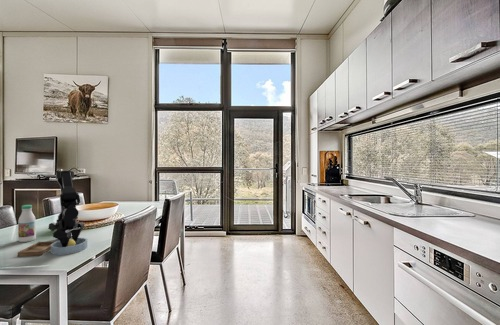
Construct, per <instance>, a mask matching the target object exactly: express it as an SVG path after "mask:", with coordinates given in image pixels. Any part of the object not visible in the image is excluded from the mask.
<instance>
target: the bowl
mask: <svg viewBox="0 0 500 325" xmlns="http://www.w3.org/2000/svg"><path fill="white" fill-rule="evenodd" d="M70 239H72V238H70ZM56 241H57V242H54V243H52V244H51V250H50V254H53V255H56V256H57V255H71V254H75V253H79V252H82V251H84V250H86V249H87V248H88V239H87V238H86V237H78V239H77V241H76V244H75V245H74V246H68V247H62V244H61V242H60V240H56Z"/></svg>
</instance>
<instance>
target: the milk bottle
mask: <svg viewBox="0 0 500 325" xmlns="http://www.w3.org/2000/svg"><path fill="white" fill-rule="evenodd" d="M32 209H33V205H32V204H23V205H21V213H20V215H19V218H18V221H17V222H18V224H17V226H18V227H17V228H18V229H17V230H18V232H17V233H18V234H17V237H18V242H19V243H26V242H33V241H35V240H36V239H37V222H36V221H37V220H36V216H35V214H34V213H33V210H32Z"/></svg>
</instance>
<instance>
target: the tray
mask: <svg viewBox="0 0 500 325" xmlns="http://www.w3.org/2000/svg"><path fill="white" fill-rule="evenodd" d="M57 241H58V240H51V241H38V242H35V243H34V244H32V245H29V246H28V247H25V248H24V249H21V250H20V251H18V252H17V253H16V255H17V257H19V258H21V257H39V256H43V255H45V254H47V253H48V252H50V251H51V244H52V243H54V242H57Z"/></svg>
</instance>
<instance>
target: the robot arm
mask: <svg viewBox="0 0 500 325" xmlns="http://www.w3.org/2000/svg"><path fill="white" fill-rule="evenodd" d="M74 178H75V171H72V170H70V169H69V170H58V171H56V172H55V179H56V181H57V182H56V183H58V185H59V186H60V193H59V203H60V204H59V205H60V212H59V214H58V215H57V219H56V222H54V221H53V222H51V223H49V224H48V230H50V231H51V232H53V233H52V237H53V238H54V239H56V241H60V242H61V244H62V247H67V245H68V242H69V239H70V238H72V239H73V240H74V241H75V243H76V241H77V239H78V238H80V234H81V233H82V231H83V230H84V229H83V228H85V223H84V222H83V221H80V222H79V221H77V219H78V218H79V217H78V216H79V213H80V212H79V209H77V206H78V205H80V203H81V199H80V194H79V193H78V192H77V189H76V188H74V186H73V179H74Z"/></svg>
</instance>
